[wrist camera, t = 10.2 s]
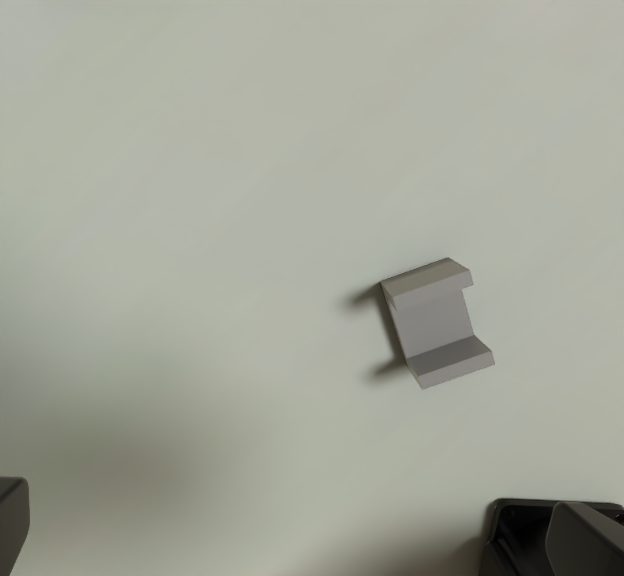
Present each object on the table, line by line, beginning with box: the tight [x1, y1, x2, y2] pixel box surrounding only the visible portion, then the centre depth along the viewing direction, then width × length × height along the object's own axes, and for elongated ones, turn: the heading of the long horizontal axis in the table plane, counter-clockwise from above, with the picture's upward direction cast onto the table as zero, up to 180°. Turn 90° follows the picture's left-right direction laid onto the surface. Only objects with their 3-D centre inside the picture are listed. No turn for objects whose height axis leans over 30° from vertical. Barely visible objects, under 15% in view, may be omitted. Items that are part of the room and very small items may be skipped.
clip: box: [380, 257, 495, 390], centre depth 21 cm, size 3×4×2 cm
